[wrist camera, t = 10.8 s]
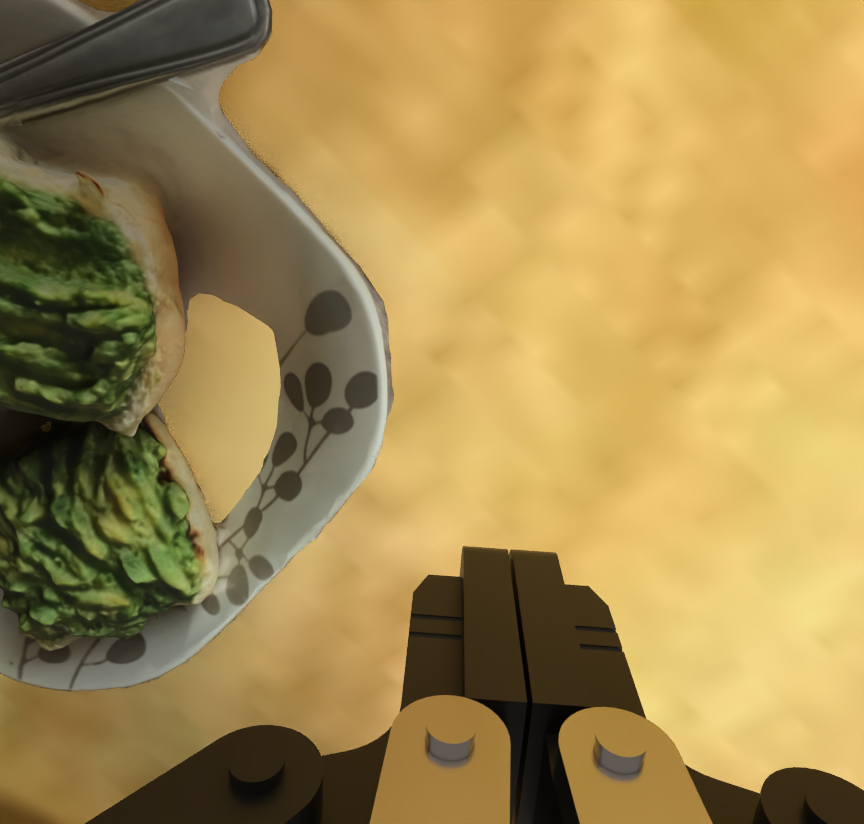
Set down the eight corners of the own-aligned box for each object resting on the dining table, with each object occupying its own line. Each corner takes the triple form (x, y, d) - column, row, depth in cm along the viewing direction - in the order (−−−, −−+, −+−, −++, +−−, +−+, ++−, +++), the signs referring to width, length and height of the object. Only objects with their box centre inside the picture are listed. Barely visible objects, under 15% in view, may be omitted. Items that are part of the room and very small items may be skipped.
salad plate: (-17, -318, 15) (-218, -515, 10) (566, 301, 18) (597, 345, 14) (-397, 330, 20) (-637, 379, 16) (118, 714, 24) (38, 840, 19)
